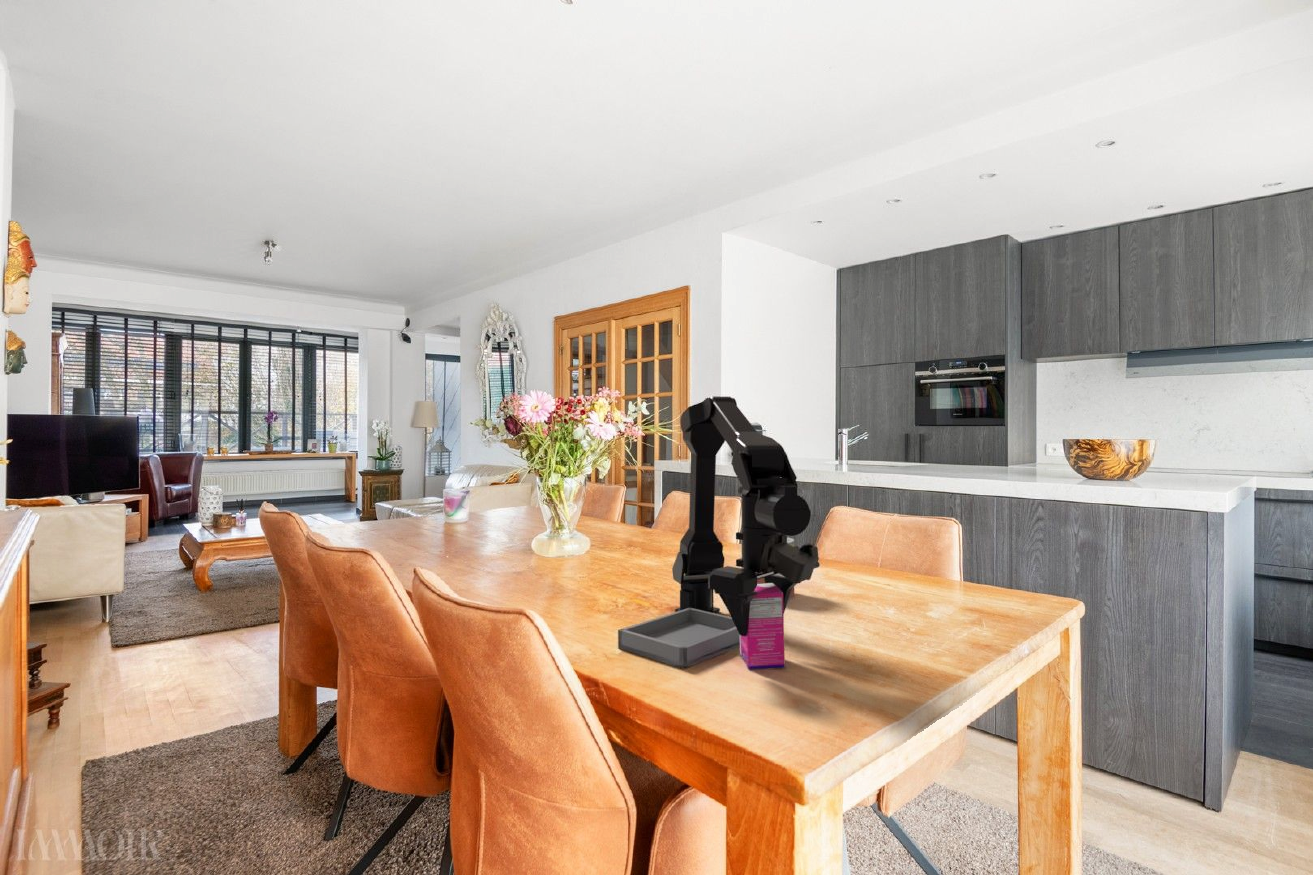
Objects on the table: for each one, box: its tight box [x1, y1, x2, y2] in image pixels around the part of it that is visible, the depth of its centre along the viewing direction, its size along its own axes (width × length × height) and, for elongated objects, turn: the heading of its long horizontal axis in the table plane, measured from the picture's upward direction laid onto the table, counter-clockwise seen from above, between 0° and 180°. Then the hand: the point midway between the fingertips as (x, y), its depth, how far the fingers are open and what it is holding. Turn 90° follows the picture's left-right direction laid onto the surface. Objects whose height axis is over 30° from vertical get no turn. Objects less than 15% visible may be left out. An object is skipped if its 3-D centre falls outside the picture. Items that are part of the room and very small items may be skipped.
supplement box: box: [739, 583, 786, 670], centre depth 100 cm, size 6×6×12 cm
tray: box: [617, 608, 740, 670], centre depth 109 cm, size 18×14×3 cm
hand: (761, 628), depth 100 cm, fingers open, 9 cm apart
